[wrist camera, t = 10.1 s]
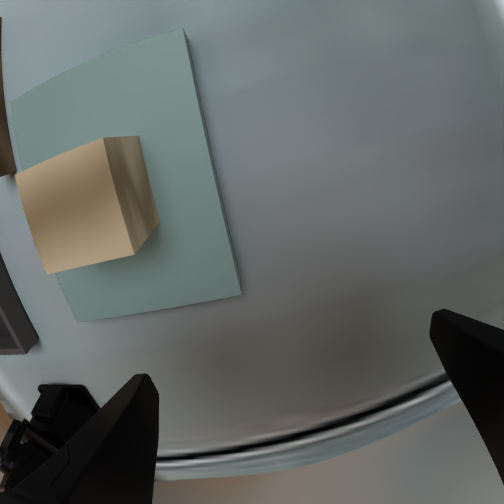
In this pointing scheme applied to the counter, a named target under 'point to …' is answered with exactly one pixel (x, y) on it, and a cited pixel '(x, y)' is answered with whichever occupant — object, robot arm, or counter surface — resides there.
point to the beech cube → (89, 203)
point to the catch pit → (13, 319)
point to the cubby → (4, 132)
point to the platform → (158, 169)
